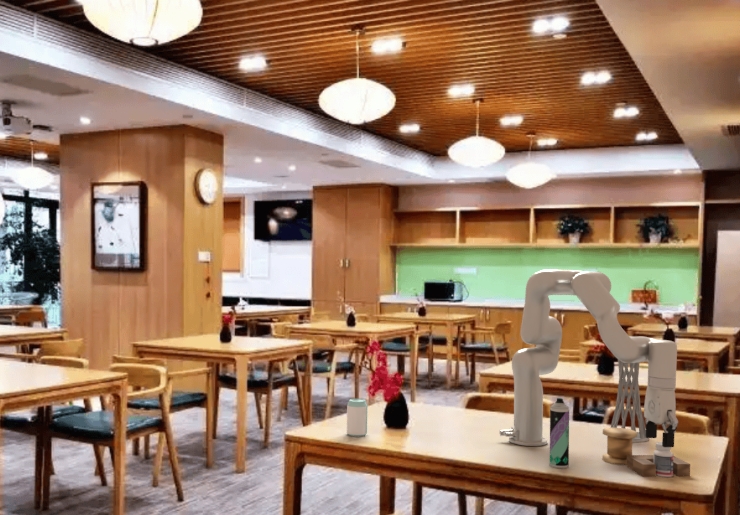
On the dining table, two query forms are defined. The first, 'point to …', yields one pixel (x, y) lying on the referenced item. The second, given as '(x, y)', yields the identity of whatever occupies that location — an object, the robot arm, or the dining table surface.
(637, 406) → the grey lattice tower
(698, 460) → the dining table surface
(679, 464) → the notched board
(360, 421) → the can
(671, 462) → the pill bottle
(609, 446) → the wooden spool
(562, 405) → the spray can
